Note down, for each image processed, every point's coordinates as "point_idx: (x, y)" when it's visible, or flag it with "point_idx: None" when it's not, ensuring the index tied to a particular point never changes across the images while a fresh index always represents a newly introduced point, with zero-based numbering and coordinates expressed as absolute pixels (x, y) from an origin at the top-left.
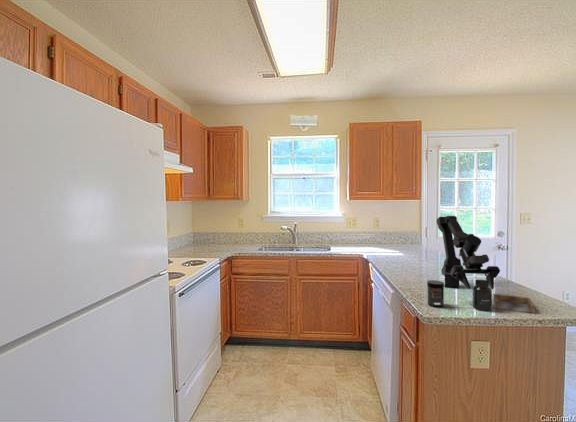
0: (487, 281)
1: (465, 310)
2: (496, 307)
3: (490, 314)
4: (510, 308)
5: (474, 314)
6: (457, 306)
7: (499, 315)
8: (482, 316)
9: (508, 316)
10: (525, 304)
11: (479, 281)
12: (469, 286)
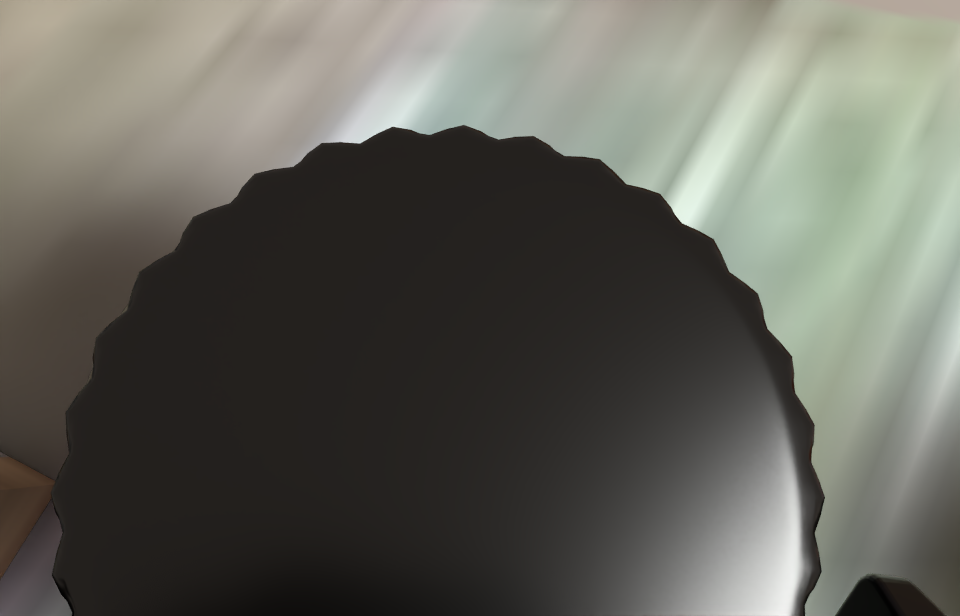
0: (172, 363)
1: None
2: (36, 479)
3: None
4: None
5: (718, 152)
6: (830, 610)
7: (279, 77)
8: (629, 52)
9: (137, 18)
10: None
11: (720, 344)
12: (913, 604)
